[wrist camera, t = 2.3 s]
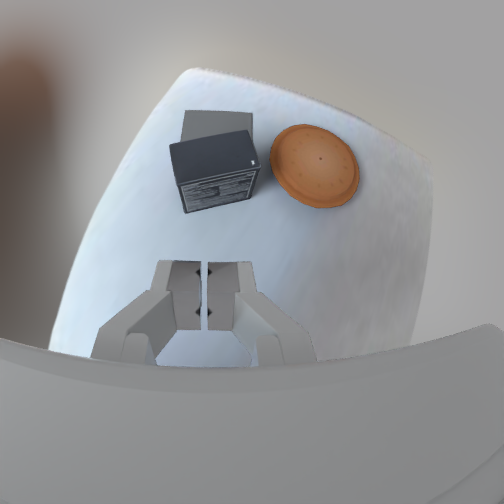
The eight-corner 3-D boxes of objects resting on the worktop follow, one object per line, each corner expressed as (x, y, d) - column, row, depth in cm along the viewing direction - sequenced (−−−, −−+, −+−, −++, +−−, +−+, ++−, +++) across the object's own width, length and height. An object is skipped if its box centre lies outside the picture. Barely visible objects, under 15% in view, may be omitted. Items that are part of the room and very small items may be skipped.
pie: (345, 227, 43) (359, 218, 39) (255, 198, 42) (261, 186, 37) (353, 153, 47) (365, 140, 42) (275, 125, 45) (282, 108, 40)
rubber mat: (251, 164, 43) (251, 163, 43) (177, 162, 41) (177, 161, 41) (251, 114, 45) (251, 113, 45) (185, 111, 43) (185, 110, 43)
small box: (240, 163, 43) (249, 126, 32) (251, 199, 42) (264, 168, 32) (176, 177, 41) (167, 141, 30) (184, 215, 40) (176, 186, 30)
